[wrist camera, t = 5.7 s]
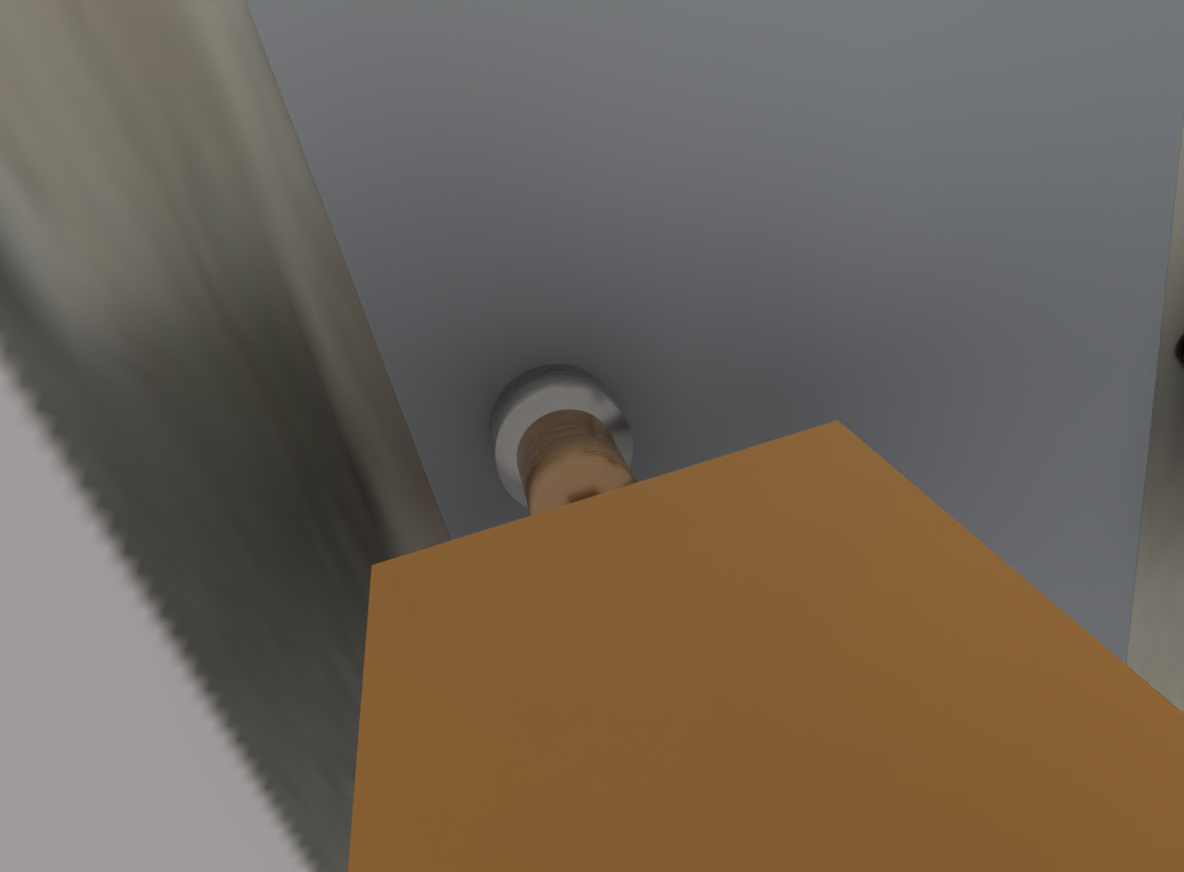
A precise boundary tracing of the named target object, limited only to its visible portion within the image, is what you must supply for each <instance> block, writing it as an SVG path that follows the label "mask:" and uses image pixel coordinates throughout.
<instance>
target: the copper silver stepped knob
mask: <svg viewBox="0 0 1184 872" xmlns="http://www.w3.org/2000/svg"><path fill="white" fill-rule="evenodd" d="M489 428H490V437H491V442H492V447H493V451H494V456H495V461H496V465H497V470H498V474H499V477H500V479H501V482H502V483H503V485H504V487H505V489H506V490H507V491H508V493H509V494H510V495H511V496H512V497H513V498H514V499H515V500H516V501H518V502H519V503H520V504H522V505H523V506H525V507H527V508H528V509H529V512H530V516H531V515H535V514H538V513H541V512H544V511H547V510H551V509H554V508H557V507H560V506H564V505H567V504H570V503H573V502H576V501H580V500H583V499H586V498H589V497H592V496H596V495H599V494H602V493H605V492H608V491H612V490H615V489H618V488H621V487H625V486H628V485H631V484H634V483H637V482H636V480H635V478H634V476H633V474H632V472H631V471H630V469H629V467H630V464H631V460H632V455H633V441H632V435H631V431H630V428H629V426H628V423H627V421H626V420H625V418H624V416H623V415H622V413H621V411H620V410H619V408H618V406H617V405H616V403H615V401H614V400H613V398H612V396H611V395H610V393H609V391H608V390H607V388H606V387H605V386H604V385H603V383H602V382H601V381H600V380H599V379H597V378H596V377H595V376H594V375H592V374H591V373H589V372H587V371H585V370H583V369H581V368H578V367H575V366H570V365H562V364H552V365H545V366H540V367H537V368H533V369H531V370H529V371H526V372H524V373H523V374H521V375H519V376H518V377H516V378H515V379H514V380H512V381H511V382H510V383H509V384H508V385H507V386H506V387H505V388H504V389H503V391H502V392H501V393H500V395H499V396H498V398H497V400H496V402H495V404H494V406H493V409H492V412H491V417H490V425H489Z"/></svg>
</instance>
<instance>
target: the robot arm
mask: <svg viewBox="0 0 1184 872" xmlns="http://www.w3.org/2000/svg"><path fill="white" fill-rule="evenodd" d="M1181 357H1182V359H1183V361H1184V345H1183V347H1182V350H1181Z"/></svg>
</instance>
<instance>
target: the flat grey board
mask: <svg viewBox="0 0 1184 872" xmlns="http://www.w3.org/2000/svg"><path fill="white" fill-rule="evenodd" d="M245 1H246V4H247V6H248V9H249V11H250V14H251V17H252V19H253V22H254V25H255V27H256V30H257V32H258V35H259V38H260V40H261V43H262V46H263V48H264V51H265V53H266V56H267V59H268V61H269V64H270V67H271V69H272V72H273V75H274V77H275V80H276V82H277V85H278V88H279V90H280V93H281V96H282V98H283V101H284V103H285V106H286V109H287V111H288V114H289V117H290V119H291V122H292V124H293V127H294V130H295V132H296V135H297V138H298V140H299V143H300V145H301V148H302V151H303V153H304V156H305V159H306V161H307V164H308V166H309V169H310V172H311V174H312V177H313V180H314V182H315V185H316V187H317V190H318V193H319V195H320V198H321V201H322V203H323V206H324V208H325V211H326V214H327V216H328V219H329V222H330V224H331V227H332V229H333V232H334V235H335V237H336V240H337V243H338V245H339V248H340V250H341V253H342V256H343V258H344V261H345V264H346V266H347V269H348V271H349V274H350V277H351V279H352V282H353V285H354V287H355V290H356V292H357V295H358V298H359V300H360V303H361V306H362V308H363V311H364V313H365V316H366V319H367V321H368V324H369V327H370V329H371V332H372V334H373V337H374V340H375V342H376V345H377V348H378V350H379V353H380V355H381V358H382V361H383V363H384V366H385V369H386V371H387V374H388V377H389V379H390V382H391V384H392V387H393V390H394V392H395V395H396V398H397V400H398V403H399V405H400V408H401V411H402V413H403V416H404V419H405V421H406V424H407V426H408V429H409V432H410V434H411V437H412V440H413V442H414V445H415V447H416V450H417V453H418V455H419V458H420V461H421V463H422V466H423V468H424V471H425V474H426V476H427V479H428V482H429V484H430V487H431V489H432V492H433V495H434V497H435V500H436V503H437V505H438V508H439V510H440V513H441V516H442V518H443V521H444V524H445V526H446V529H447V531H448V534H449V537H450V539H451V540H454V539H458V538H461V537H464V536H467V535H470V534H474V533H477V532H480V531H483V530H486V529H490V528H493V527H496V526H499V525H503V524H506V523H509V522H512V521H515V520H519V519H522V518H525V517H528V516H530V512H529V509H528V508H527V507H525V506H523V505H522V504H520V503H519V502H518V501H516V500H515V499H514V498H513V497H512V496H511V495H510V494H509V493H508V491H507V490H506V489H505V487H504V485H503V483H502V482H501V479H500V477H499V474H498V470H497V465H496V461H495V456H494V451H493V447H492V442H491V437H490V428H489V425H490V417H491V412H492V409H493V406H494V404H495V402H496V400H497V398H498V396H499V395H500V393H501V392H502V391H503V389H504V388H505V387H506V386H507V385H508V384H509V383H510V382H511V381H512V380H514V379H515V378H516V377H518V376H519V375H521V374H523V373H524V372H526V371H529V370H531V369H533V368H537V367H540V366H545V365H552V364H562V365H570V366H575V367H578V368H581V369H583V370H585V371H587V372H589V373H591V374H592V375H594V376H595V377H596V378H597V379H599V380H600V381H601V382H602V383H603V385H604V386H605V387H606V388H607V390H608V391H609V393H610V395H611V396H612V398H613V400H614V401H615V403H616V405H617V406H618V408H619V410H620V411H621V413H622V415H623V416H624V418H625V420H626V421H627V423H628V426H629V428H630V431H631V435H632V441H633V455H632V460H631V464H630V467H629V469H630V471H631V472H632V474H633V476H634V478H635V480H636V482H641V481H644V480H647V479H650V478H653V477H657V476H660V475H663V474H666V473H670V472H673V471H676V470H679V469H682V468H686V467H689V466H692V465H695V464H698V463H702V462H705V461H708V460H711V459H714V458H718V457H721V456H724V455H727V454H731V453H734V452H737V451H740V450H743V449H747V448H750V447H753V446H756V445H759V444H763V443H766V442H769V441H772V440H775V439H779V438H782V437H785V436H788V435H792V434H795V433H798V432H801V431H804V430H808V429H811V428H814V427H817V426H820V425H824V424H827V423H830V422H833V421H837V420H838V421H840V422H841V423H842V424H843V425H844V426H845V427H847V428H848V429H849V430H850V431H851V432H852V433H854V434H855V435H856V436H857V437H858V438H860V439H861V440H862V441H863V442H864V443H865V444H867V445H868V446H869V447H870V448H871V449H872V450H874V451H875V452H876V453H877V454H878V455H880V456H881V457H882V458H883V459H884V460H885V461H887V462H888V463H889V464H890V465H891V466H893V467H894V468H895V469H896V470H897V471H898V472H900V473H901V474H902V475H903V476H904V477H905V478H907V479H908V480H909V481H910V482H911V483H913V484H914V485H915V486H916V487H917V488H918V489H920V490H921V491H922V492H923V493H924V494H926V495H927V496H928V497H929V498H930V499H931V500H933V501H934V502H935V503H936V504H937V505H938V506H940V507H941V508H942V509H943V510H944V511H946V512H947V513H948V514H949V515H950V516H951V517H953V518H954V519H955V520H956V521H957V522H959V523H960V524H961V525H962V526H963V527H964V528H966V529H967V530H968V531H969V532H970V533H971V534H973V535H974V536H975V537H976V538H977V539H979V540H980V541H981V542H982V543H983V544H984V545H986V546H987V547H988V548H989V549H990V550H992V551H993V552H994V553H995V554H996V555H997V556H999V557H1000V558H1001V559H1002V560H1003V561H1004V562H1006V563H1007V564H1008V565H1009V566H1010V567H1012V568H1013V569H1014V570H1015V571H1016V572H1017V573H1019V574H1020V575H1021V576H1022V577H1023V578H1025V579H1026V580H1027V581H1028V582H1029V583H1030V584H1032V585H1033V586H1034V587H1035V588H1036V589H1037V590H1039V591H1040V592H1041V593H1042V594H1043V595H1045V596H1046V597H1047V598H1048V599H1049V600H1050V601H1052V602H1053V603H1054V604H1055V605H1056V606H1058V607H1059V608H1060V609H1061V610H1062V611H1063V612H1065V613H1066V614H1067V615H1068V616H1069V617H1070V618H1072V619H1073V620H1074V621H1075V622H1076V623H1078V624H1079V625H1080V626H1081V627H1082V628H1083V629H1085V630H1086V631H1087V632H1088V633H1089V634H1091V635H1092V636H1093V637H1094V638H1095V639H1096V640H1098V641H1099V642H1100V643H1101V644H1102V645H1103V646H1105V647H1106V648H1107V649H1108V650H1109V651H1111V652H1112V653H1113V654H1114V655H1115V656H1116V657H1118V658H1119V659H1120V660H1121V661H1122V662H1124V663H1125V664H1126V660H1127V651H1128V641H1129V632H1130V622H1131V612H1132V603H1133V593H1134V584H1135V574H1136V565H1137V555H1138V546H1139V536H1140V526H1141V517H1142V507H1143V498H1144V488H1145V479H1146V469H1147V460H1148V450H1149V440H1150V431H1151V421H1152V412H1153V402H1154V393H1155V383H1156V373H1157V364H1158V354H1159V345H1160V335H1161V326H1162V316H1163V307H1164V297H1165V287H1166V278H1167V268H1168V259H1169V249H1170V240H1171V230H1172V221H1173V211H1174V201H1175V192H1176V182H1177V173H1178V163H1179V154H1180V144H1181V134H1182V125H1183V115H1184V0H245Z"/></svg>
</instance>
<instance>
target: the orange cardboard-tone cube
mask: <svg viewBox="0 0 1184 872" xmlns="http://www.w3.org/2000/svg"><path fill="white" fill-rule="evenodd" d="M348 872H1184V713H1182V712H1181V711H1180V710H1179V709H1178V708H1177V707H1175V706H1174V705H1173V704H1172V703H1171V702H1169V701H1168V700H1167V699H1166V698H1165V697H1164V696H1162V695H1161V694H1160V693H1159V692H1158V691H1156V690H1155V689H1154V688H1153V687H1152V686H1151V685H1149V684H1148V683H1147V682H1146V681H1145V680H1144V679H1142V678H1141V677H1140V676H1139V675H1138V674H1136V673H1135V672H1134V671H1133V670H1132V669H1131V668H1129V667H1128V666H1127V665H1126V664H1125V663H1124V662H1122V661H1121V660H1120V659H1119V658H1118V657H1116V656H1115V655H1114V654H1113V653H1112V652H1111V651H1109V650H1108V649H1107V648H1106V647H1105V646H1103V645H1102V644H1101V643H1100V642H1099V641H1098V640H1096V639H1095V638H1094V637H1093V636H1092V635H1091V634H1089V633H1088V632H1087V631H1086V630H1085V629H1083V628H1082V627H1081V626H1080V625H1079V624H1078V623H1076V622H1075V621H1074V620H1073V619H1072V618H1070V617H1069V616H1068V615H1067V614H1066V613H1065V612H1063V611H1062V610H1061V609H1060V608H1059V607H1058V606H1056V605H1055V604H1054V603H1053V602H1052V601H1050V600H1049V599H1048V598H1047V597H1046V596H1045V595H1043V594H1042V593H1041V592H1040V591H1039V590H1037V589H1036V588H1035V587H1034V586H1033V585H1032V584H1030V583H1029V582H1028V581H1027V580H1026V579H1025V578H1023V577H1022V576H1021V575H1020V574H1019V573H1017V572H1016V571H1015V570H1014V569H1013V568H1012V567H1010V566H1009V565H1008V564H1007V563H1006V562H1004V561H1003V560H1002V559H1001V558H1000V557H999V556H997V555H996V554H995V553H994V552H993V551H992V550H990V549H989V548H988V547H987V546H986V545H984V544H983V543H982V542H981V541H980V540H979V539H977V538H976V537H975V536H974V535H973V534H971V533H970V532H969V531H968V530H967V529H966V528H964V527H963V526H962V525H961V524H960V523H959V522H957V521H956V520H955V519H954V518H953V517H951V516H950V515H949V514H948V513H947V512H946V511H944V510H943V509H942V508H941V507H940V506H938V505H937V504H936V503H935V502H934V501H933V500H931V499H930V498H929V497H928V496H927V495H926V494H924V493H923V492H922V491H921V490H920V489H918V488H917V487H916V486H915V485H914V484H913V483H911V482H910V481H909V480H908V479H907V478H905V477H904V476H903V475H902V474H901V473H900V472H898V471H897V470H896V469H895V468H894V467H893V466H891V465H890V464H889V463H888V462H887V461H885V460H884V459H883V458H882V457H881V456H880V455H878V454H877V453H876V452H875V451H874V450H872V449H871V448H870V447H869V446H868V445H867V444H865V443H864V442H863V441H862V440H861V439H860V438H858V437H857V436H856V435H855V434H854V433H852V432H851V431H850V430H849V429H848V428H847V427H845V426H844V425H843V424H842V423H841V422H840V421H838V420H837V421H833V422H830V423H827V424H824V425H820V426H817V427H814V428H811V429H808V430H804V431H801V432H798V433H795V434H792V435H788V436H785V437H782V438H779V439H775V440H772V441H769V442H766V443H763V444H759V445H756V446H753V447H750V448H747V449H743V450H740V451H737V452H734V453H731V454H727V455H724V456H721V457H718V458H714V459H711V460H708V461H705V462H702V463H698V464H695V465H692V466H689V467H686V468H682V469H679V470H676V471H673V472H670V473H666V474H663V475H660V476H657V477H653V478H650V479H647V480H644V481H641V482H637V483H634V484H631V485H628V486H625V487H621V488H618V489H615V490H612V491H608V492H605V493H602V494H599V495H596V496H592V497H589V498H586V499H583V500H580V501H576V502H573V503H570V504H567V505H564V506H560V507H557V508H554V509H551V510H547V511H544V512H541V513H538V514H535V515H531V516H528V517H525V518H522V519H519V520H515V521H512V522H509V523H506V524H503V525H499V526H496V527H493V528H490V529H486V530H483V531H480V532H477V533H474V534H470V535H467V536H464V537H461V538H458V539H454V540H451V541H448V542H445V543H441V544H438V545H435V546H432V547H429V548H425V549H422V550H419V551H416V552H413V553H409V554H406V555H403V556H400V557H397V558H393V559H390V560H387V561H384V562H380V563H377V564H374V565H372V568H371V581H370V594H369V607H368V620H367V633H366V646H365V659H364V672H363V684H362V697H361V710H360V723H359V736H358V749H357V762H356V775H355V788H354V800H353V813H352V826H351V839H350V852H349V865H348Z"/></svg>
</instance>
